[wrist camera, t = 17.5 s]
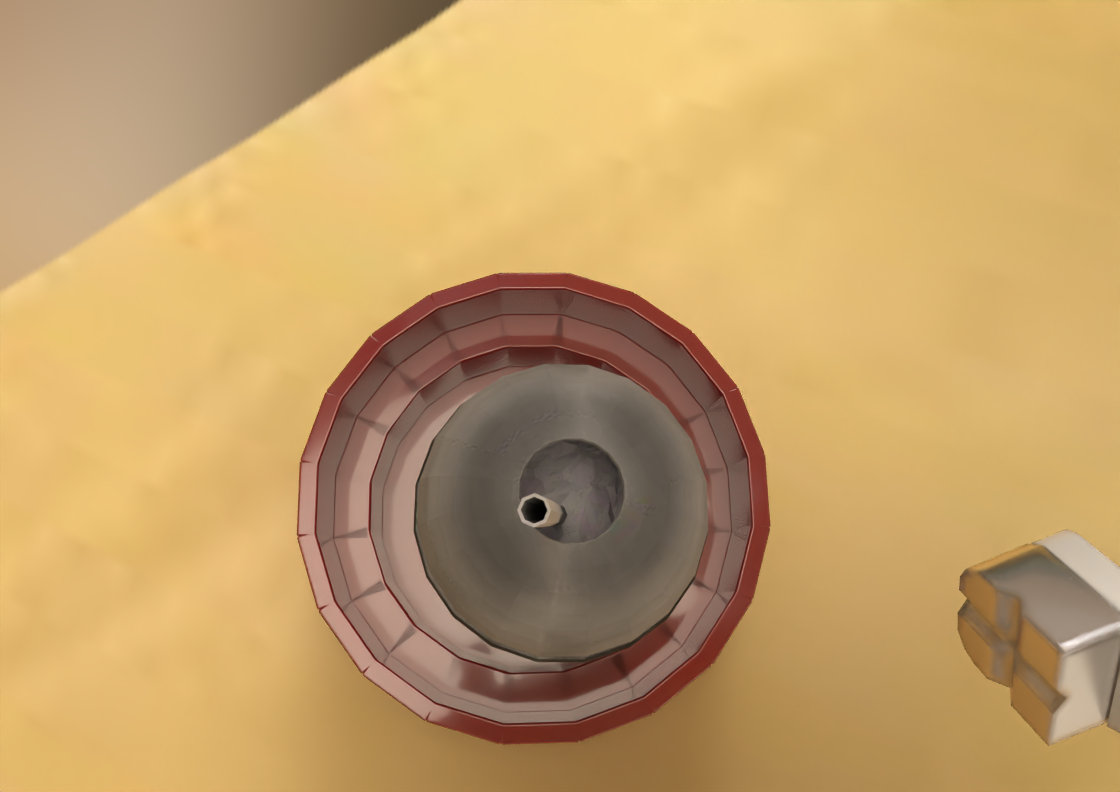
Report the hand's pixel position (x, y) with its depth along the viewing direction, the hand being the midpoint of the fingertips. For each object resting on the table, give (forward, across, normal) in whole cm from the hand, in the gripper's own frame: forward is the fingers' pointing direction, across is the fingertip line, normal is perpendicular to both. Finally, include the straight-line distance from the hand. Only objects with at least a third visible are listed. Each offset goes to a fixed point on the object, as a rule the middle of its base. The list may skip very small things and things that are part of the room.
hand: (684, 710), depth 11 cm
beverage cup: (+18, 0, +13) cm, 22 cm away
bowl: (+19, 0, +12) cm, 22 cm away
